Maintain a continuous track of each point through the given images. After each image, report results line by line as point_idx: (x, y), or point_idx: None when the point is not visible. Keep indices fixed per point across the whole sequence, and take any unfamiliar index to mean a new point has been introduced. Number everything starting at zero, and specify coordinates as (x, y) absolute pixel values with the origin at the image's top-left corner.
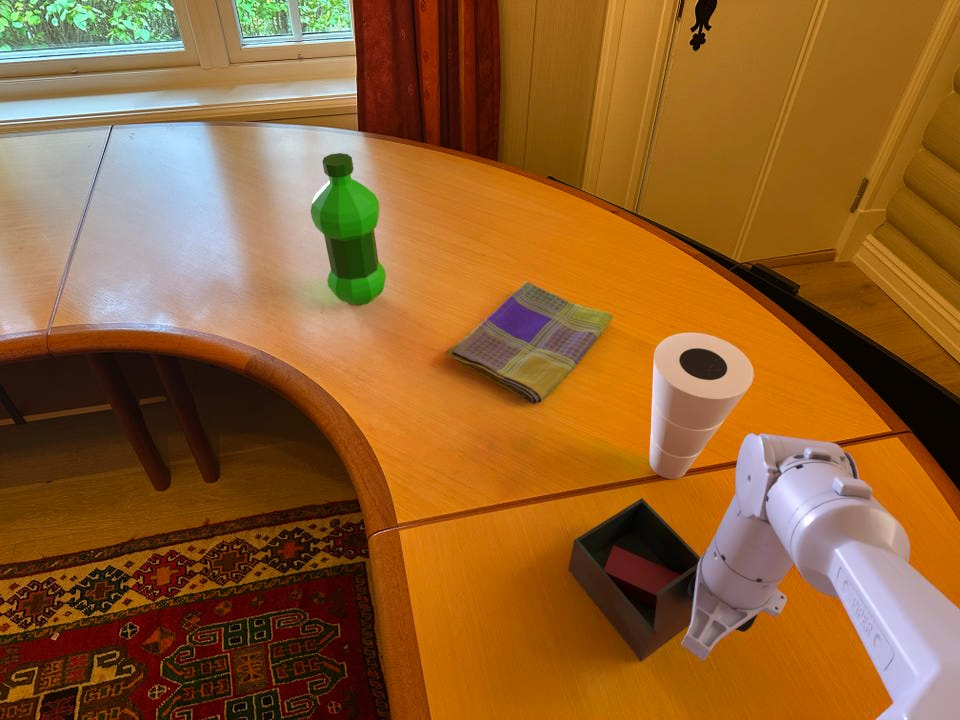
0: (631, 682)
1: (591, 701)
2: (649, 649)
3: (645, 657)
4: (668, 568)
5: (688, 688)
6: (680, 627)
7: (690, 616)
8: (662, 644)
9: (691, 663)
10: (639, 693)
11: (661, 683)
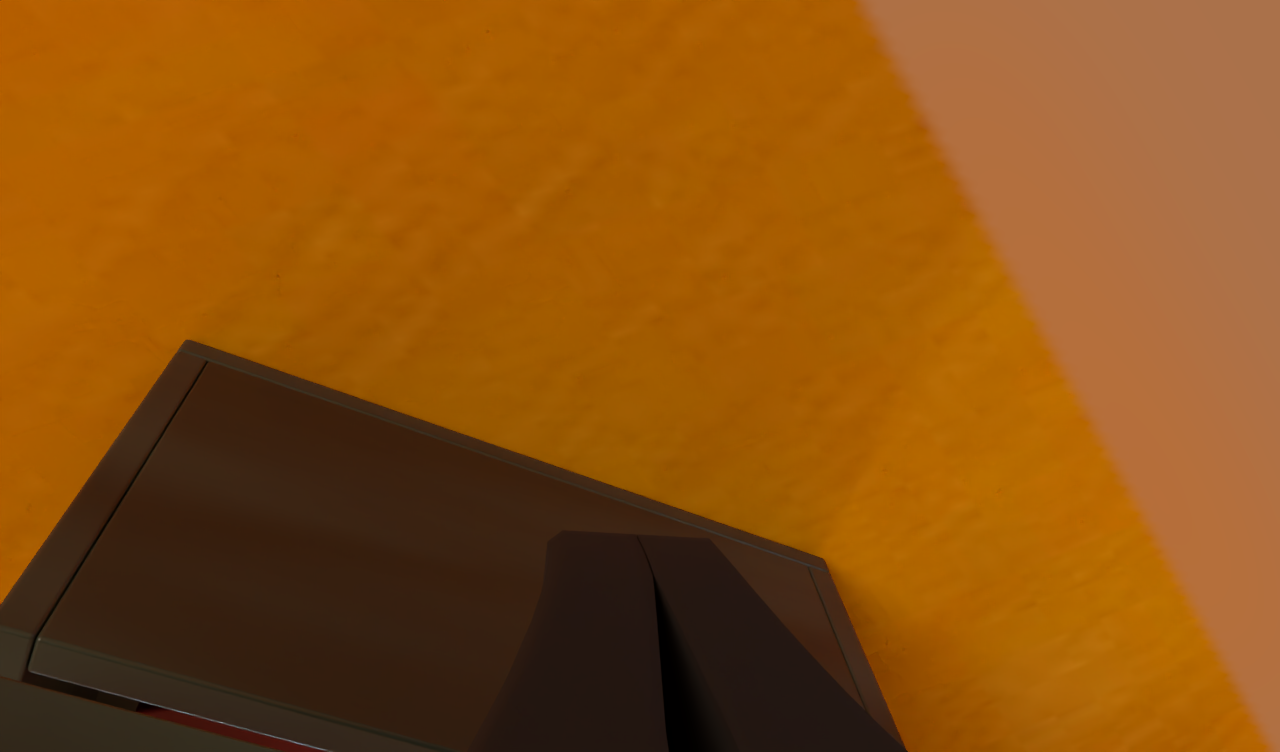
0: (968, 550)
1: (1167, 668)
2: (834, 645)
3: (804, 566)
4: (95, 692)
5: (827, 256)
6: (520, 518)
7: (440, 550)
8: (662, 519)
9: (650, 299)
10: (1008, 490)
11: (885, 410)
